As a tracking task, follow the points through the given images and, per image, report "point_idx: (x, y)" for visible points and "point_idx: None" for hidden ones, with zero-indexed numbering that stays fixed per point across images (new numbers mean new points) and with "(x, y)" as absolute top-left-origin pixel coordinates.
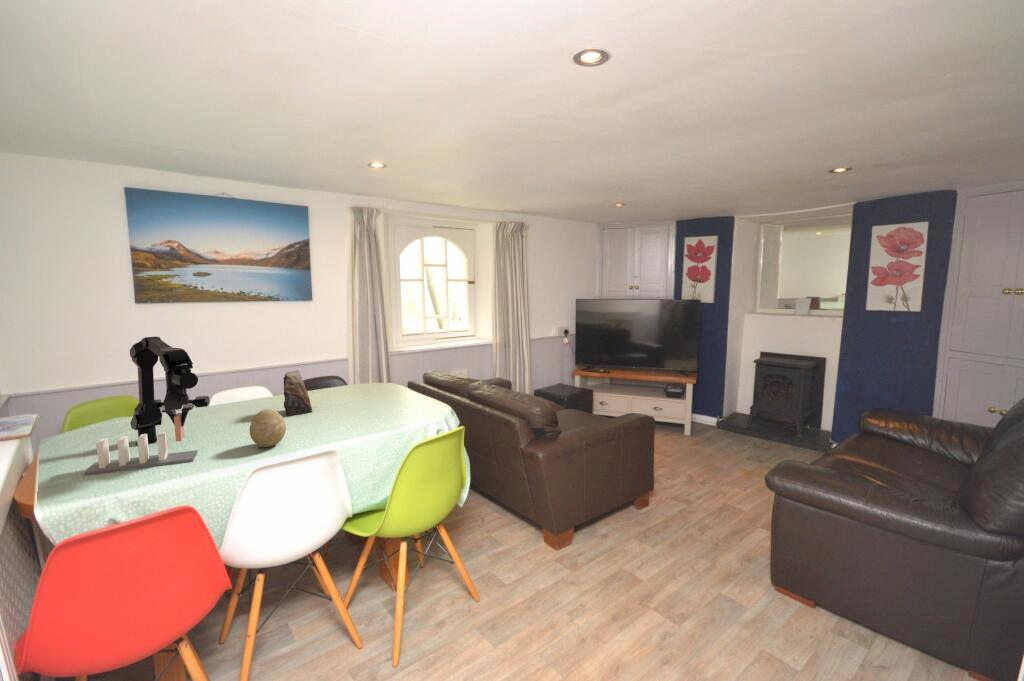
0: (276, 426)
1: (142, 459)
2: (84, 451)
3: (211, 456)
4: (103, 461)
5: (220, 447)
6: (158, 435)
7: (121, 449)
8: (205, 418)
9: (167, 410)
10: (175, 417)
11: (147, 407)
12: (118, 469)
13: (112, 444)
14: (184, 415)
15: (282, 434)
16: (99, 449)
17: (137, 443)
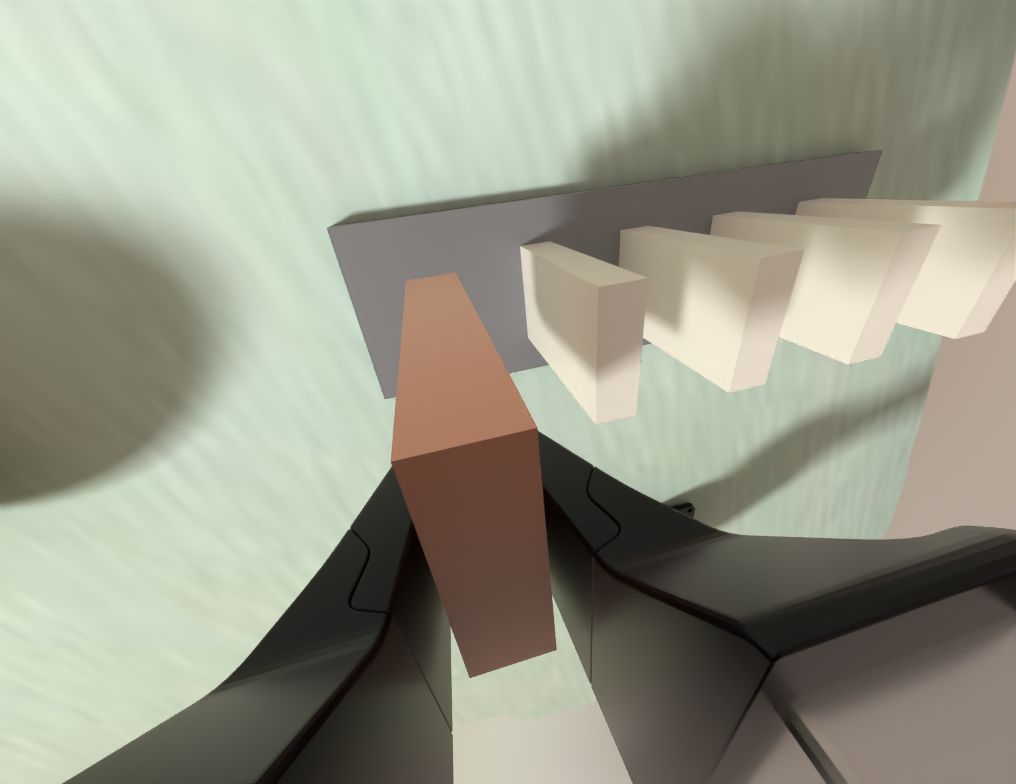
0: None
1: (646, 231)
2: (828, 456)
3: (241, 307)
4: (843, 201)
5: (283, 456)
6: (639, 320)
7: (826, 221)
8: (524, 697)
9: (892, 650)
10: (493, 427)
11: None
12: (736, 170)
13: (755, 509)
14: (341, 579)
15: None
16: (964, 202)
17: (688, 507)
